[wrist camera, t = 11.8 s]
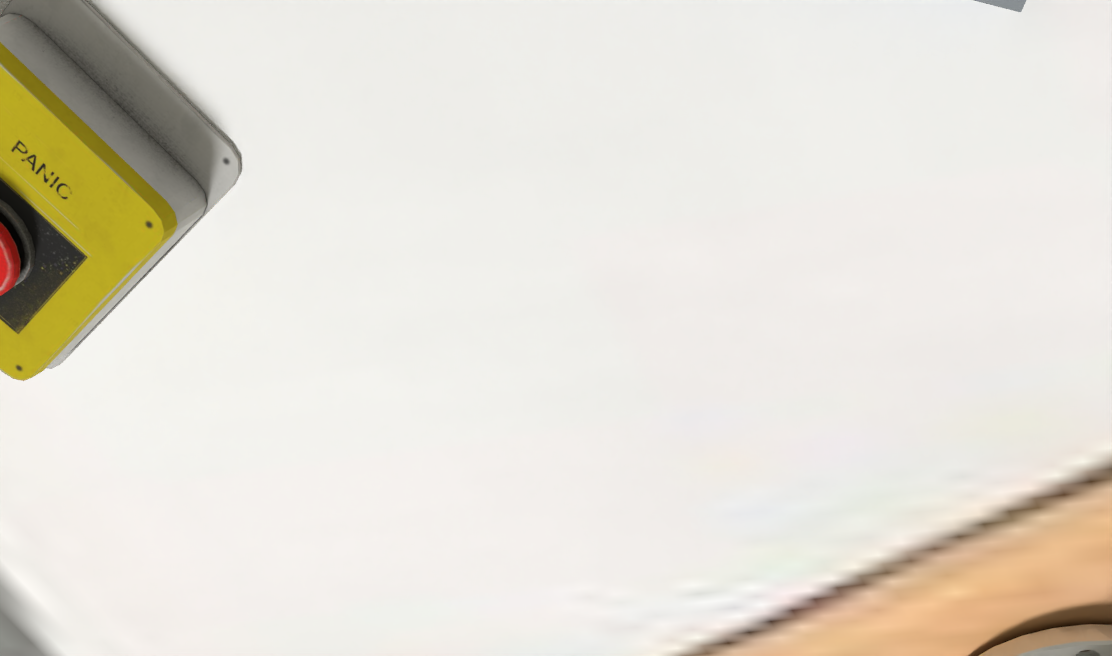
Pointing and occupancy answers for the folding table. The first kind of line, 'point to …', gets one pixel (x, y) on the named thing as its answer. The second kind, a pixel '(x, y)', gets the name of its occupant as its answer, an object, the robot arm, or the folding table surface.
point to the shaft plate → (1006, 4)
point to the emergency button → (88, 176)
